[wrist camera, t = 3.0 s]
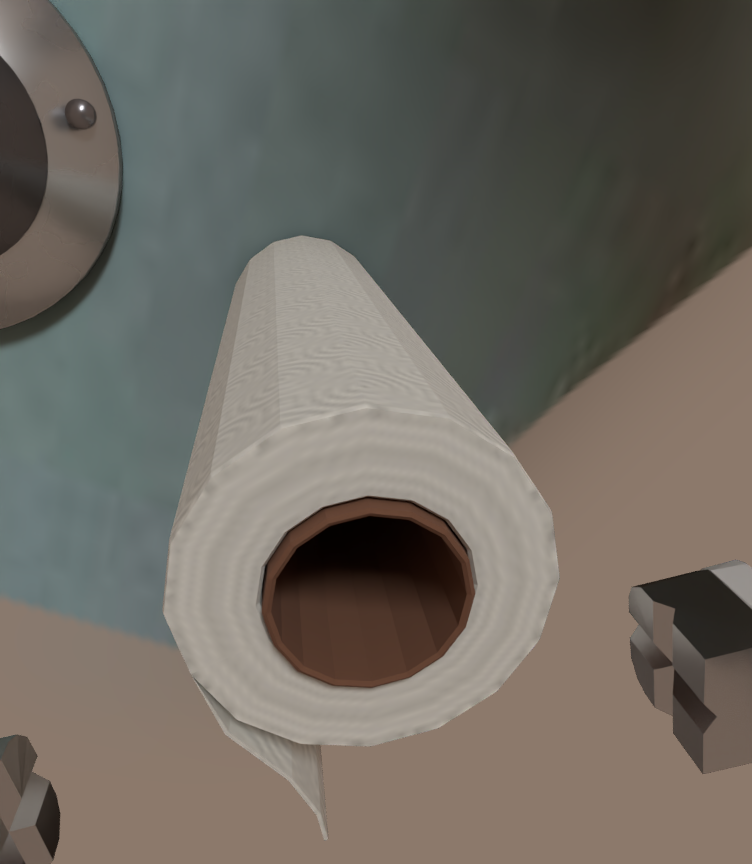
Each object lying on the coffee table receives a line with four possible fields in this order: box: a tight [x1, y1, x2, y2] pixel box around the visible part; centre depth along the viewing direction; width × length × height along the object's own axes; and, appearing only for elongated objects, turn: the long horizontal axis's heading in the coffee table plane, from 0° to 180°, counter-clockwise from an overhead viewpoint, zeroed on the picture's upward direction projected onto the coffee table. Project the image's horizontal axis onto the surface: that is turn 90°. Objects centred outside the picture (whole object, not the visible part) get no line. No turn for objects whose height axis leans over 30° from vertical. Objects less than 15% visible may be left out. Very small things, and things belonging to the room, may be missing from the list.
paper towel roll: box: [163, 236, 560, 841], centre depth 20 cm, size 7×6×21 cm
